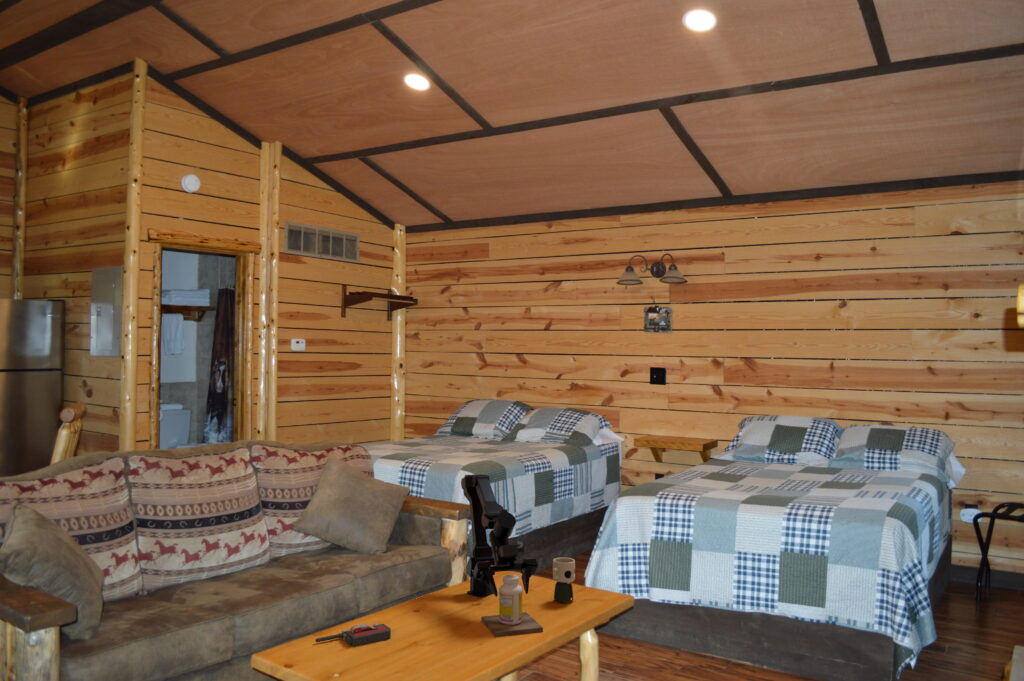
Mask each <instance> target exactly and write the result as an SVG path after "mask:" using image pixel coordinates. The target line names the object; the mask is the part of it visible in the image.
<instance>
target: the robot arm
mask: <svg viewBox="0 0 1024 681" xmlns="http://www.w3.org/2000/svg"><path fill="white" fill-rule="evenodd" d="M490 482H491V479H490V475H488V474H487V473H486V474H482V473H481V474H480V473H479V474H478V473H477V474H476V473H475V474H465V475H464V477H462V478H461V480H460V487H461V489H462V491H463V496H464V497H465V498H466V499H467V501H468V502H469V511H470V512H469V513H470V522H471V533H472V543H473V545H472V548H471V550H470V552H469V558H468V561H467V564H466V565H465V571H466V575H467V576H469V578H470V580H469V582H470V583H469V585H470V586H469V590H468V591H466V594H467V595H468V594H469V595H472V596H476V597H480V598H482V597H486V596H488V595H492V594H493V595H494V596H495V597H498V596H499V592H498V588H497V584H496V581H495V577H494V576H495V573H496V572H497V573H500V572H511V571H512V572H513V571H520V573H521V574H522V575H521V578H520V579H521V582H522V585H523V589H524V590H523V591H524V592H525V594H526V595H528V593H529V587H530V579H531V577H532V576H533V575H534V574H535V573H536V572H537V569H538V568H539V561H538V559H537V558H536V557H525V558H523V559H522V562H518V563H517V559H518V556H519V555H520V554H523V553H524V552H525V547H524V543H523V541H516V542H515V543H514V544H513V543H512V544H511V543H510V537H511V536H512V533H513V531H514V529H515V526H516V524H517V519H516V517H515V516H514V514H512V513H510V512H508V509H507V508H505V509H504V507H503V506H502V505H501V504H499V503H498V502H497V499H496V496H495V493H494V491H493V488H492V486H491V483H490ZM487 530H491V531H490V532H489V534H488V535H487ZM487 537H488V538H489V540H488V538H487ZM488 541H489V542H490V545H489V542H488ZM515 562H516V563H515Z"/></svg>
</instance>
